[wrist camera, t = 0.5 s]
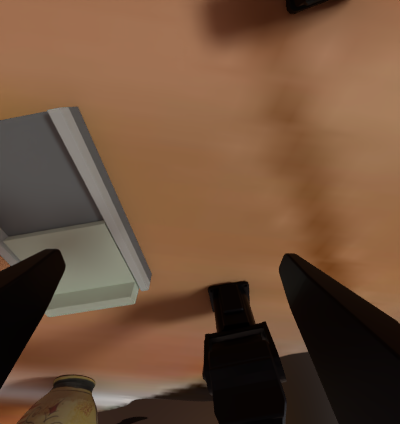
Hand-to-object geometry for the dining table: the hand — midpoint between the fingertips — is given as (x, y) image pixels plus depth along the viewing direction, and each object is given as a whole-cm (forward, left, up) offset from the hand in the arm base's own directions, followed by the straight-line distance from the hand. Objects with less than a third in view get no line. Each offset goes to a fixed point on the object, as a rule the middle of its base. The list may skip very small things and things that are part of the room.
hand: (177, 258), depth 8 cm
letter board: (-4, +15, -14) cm, 21 cm away
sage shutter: (-10, +15, -12) cm, 22 cm away
